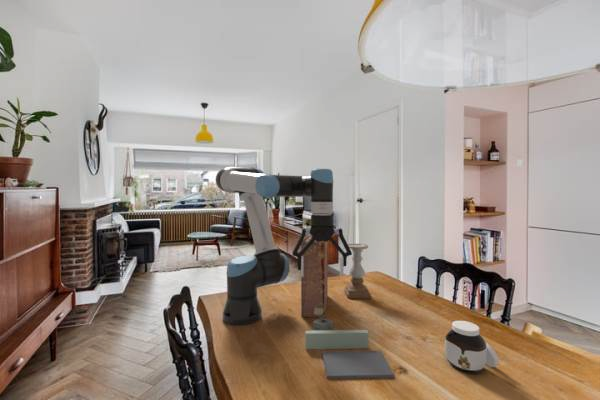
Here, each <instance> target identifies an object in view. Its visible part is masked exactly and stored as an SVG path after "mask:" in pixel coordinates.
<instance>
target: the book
mask: <svg viewBox="0 0 600 400" xmlns="http://www.w3.org/2000/svg"><path fill="white" fill-rule="evenodd" d="M311 237H312V235H311V234H310V232H309V233H308V234H307V235H305V237H304V240H303V242H302V244H301V246H300V247H301V248H300V250H301V249H302V248H303V247H304V246H305V245H306V243H307V242H308V241H309V240H310V238H311ZM328 241H329V240H328ZM328 241H327V242H324V241H321V242H318V241H316V240H315V241H314V243H312V245H311V246H310V247H309V248H308V249H307V251H306V252H305V253H304V254H303V255H302V256H303V275H304V277H301V276H300V278H301V279H300V280H301V281H300V282H301V283H300V284H301V285H300V289H301V290H300V295H301V296H300V298H301V302H300V307H301V308H300V309H301V311H300V313H301V315H300V316H301V317H303V318H305V317H307V318H318V319H319V318H321V317H322V318H325V317H326V311H327V310H326V309H327V303H328V302H327V301H328V296H329V295H328V282H329V281H328V275H329V274H328V273H329V271H328V270H329V269H328V268H329V267H328V258H329V257H328V252H329V251H328V245H329V243H328Z"/></svg>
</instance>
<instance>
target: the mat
mask: <svg viewBox="0 0 600 400" xmlns="http://www.w3.org/2000/svg"><path fill="white" fill-rule="evenodd" d="M322 360H323V364H324V370H325V374H326V379H327V380H333V379H334V380H338V379H343V380H344V379H383V378H384V379H389V378H395V373H394V371H393V369H392V368H391V366H390V364H389V363H388V361H387V359H386V357H385V355H384V354H383V352H382V350H346V351H345V350H339V351H337V350H336V351H334V350H333V351H322Z"/></svg>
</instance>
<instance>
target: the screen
mask: <svg viewBox="0 0 600 400" xmlns="http://www.w3.org/2000/svg"><path fill="white" fill-rule="evenodd" d="M369 332H370V331H368V329H335V330H334V329H333V330H314V331H313V330H305V337H304V338H305V339H304V340H305V343H304V344H305V350H332V349H333V350H334V349H335V350H339V349H340V350H341V349H346V350H347V349H369V348H370V347H369V346H370V345H369V343H370V340H369V339H370V337H369V336H370V333H369Z"/></svg>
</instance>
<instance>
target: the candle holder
mask: <svg viewBox="0 0 600 400" xmlns="http://www.w3.org/2000/svg"><path fill="white" fill-rule="evenodd" d="M347 244H348V246H349V248H350V250H351V252H352V255H353V256H352V257H351V259H352V262H353V264H352V266H351V268H350V270H349V275H350V277H351V278H350V284H346V285H345V287H344V294H345V296H346V297H345V298H347V299H351V300H352V299H356V300H357V299H358V300H360V299H362V300H363V299H365V300H368V299H371V296H372V295H371V292H370V291H369V289H368V287H367V286H366V285H365V284H363V283H364V277H365V275H366V271H365V270H364V267H363V266H362V261H363V260H364V258H363V257H362V252H363V251H364V250H366V249H368V248H369V245H367V244H363V243H347Z"/></svg>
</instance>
